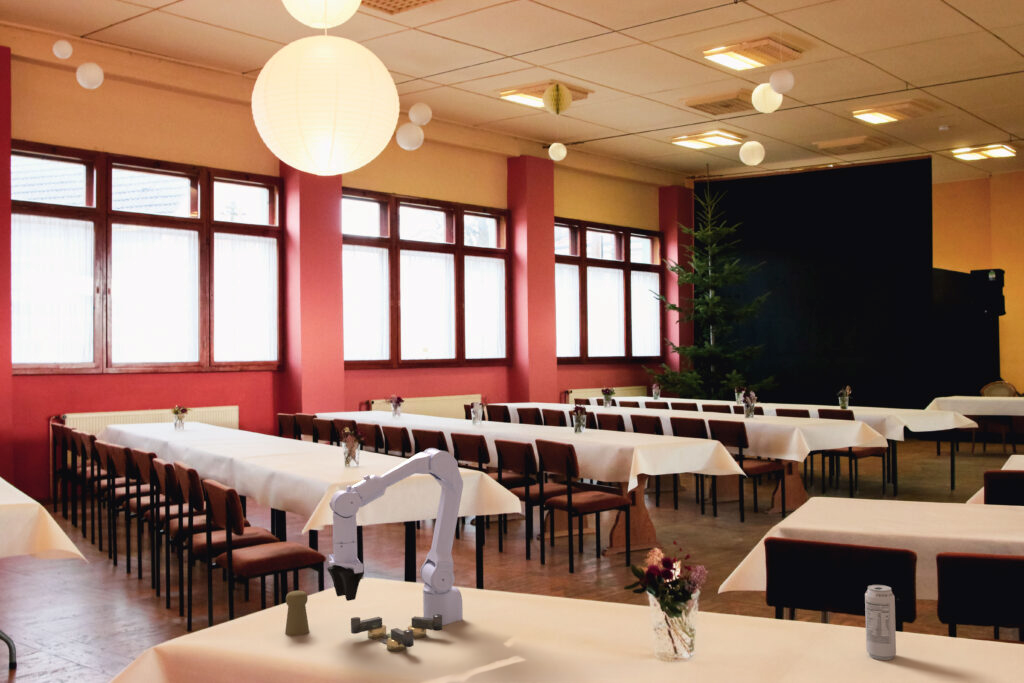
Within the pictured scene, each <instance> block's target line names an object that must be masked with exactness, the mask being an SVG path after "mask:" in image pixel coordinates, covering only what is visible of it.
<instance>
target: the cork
mask: <svg viewBox="0 0 1024 683" xmlns="http://www.w3.org/2000/svg"><path fill="white" fill-rule="evenodd" d="M308 598H309V597H308V594H307V592H306V591H304V590H292V591H290V592H288V593H287V594H286V596H285V602H286V603H285V604H286V605H287V614H286V623H285V630H284V631H285V632H284V634H285V635H287V636H289V637H290V636H291V637H297V636H299V637H300V636H305V635H307V634H309V633H310V628H309V621H308V614H307V609H306V608H307V607H306V604H307V603H308Z"/></svg>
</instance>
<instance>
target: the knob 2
mask: <svg viewBox="0 0 1024 683" xmlns="http://www.w3.org/2000/svg"><path fill="white" fill-rule="evenodd" d="M390 632H391V637H390V638H388V639H387V644H386V650H387V651H389V652H401V651H404V650H406V648H410V647H411V648H412V647H414V640H415V638H414V634H413V630H408V629H405V630H403V629H400V628H399V627H396V628H392V629H390Z"/></svg>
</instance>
